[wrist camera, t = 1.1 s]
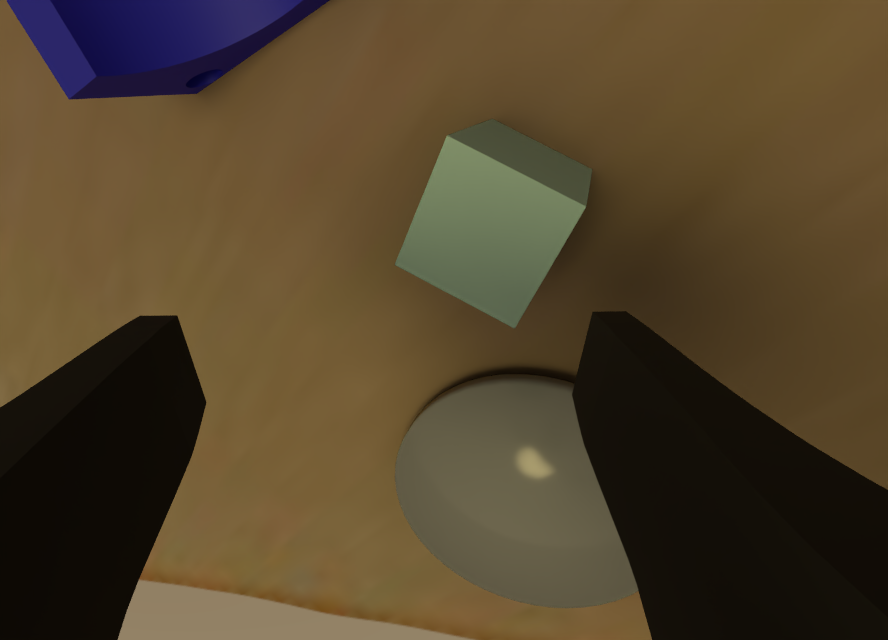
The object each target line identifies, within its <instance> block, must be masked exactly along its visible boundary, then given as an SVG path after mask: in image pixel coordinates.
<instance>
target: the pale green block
mask: <svg viewBox="0 0 888 640" xmlns="http://www.w3.org/2000/svg"><path fill="white" fill-rule="evenodd" d="M591 175H592V169H591V168H589V167H587V166H585V165H583V164H581V163H579V162H577V161H575V160H573V159H571V158H569V157H567V156H565V155H563V154H561V153H559V152H557V151H555V150H553V149H551V148H549V147H547V146H545V145H543V144H541V143H539V142H537V141H535V140H533V139H531V138H529V137H527V136H525V135H523V134H521V133H519V132H517V131H515V130H513V129H511V128H510V127H508V126H506V125H504V124H502V123H500V122H498V121H496V120H494V119H491V120H488V121H485V122H483V123H480V124H477V125H474V126H472V127H469V128H466V129H463V130H461V131H458V132H455V133H453V134H450V135H447V137H446V139H445V142H444V144H443V147H442V149H441V152H440V154H439V157H438V159H437V162H436V164H435V167H434V169H433V171H432V174H431V176H430V179H429V181H428V184H427V186H426V189H425V191H424V194H423V196H422V199H421V201H420V204H419V206H418V209H417V211H416V214H415V216H414V218H413V221H412V223H411V226H410V228H409V231H408V233H407V236H406V238H405V241H404V243H403V246H402V248H401V251H400V253H399V256H398V258H397V260H396V263H395V265H396V266H398V267H400V268H402V269H403V270H405V271H407V272H409V273H411V274H413V275H415V276H417V277H419V278H420V279H422V280H424V281H426V282H428V283H430V284H432V285H434V286H435V287H437V288H439V289H441V290H443V291H445V292H447V293H449V294H451V295H452V296H454V297H456V298H458V299H460V300H462V301H464V302H466V303H467V304H469V305H471V306H473V307H475V308H477V309H479V310H481V311H483V312H484V313H486V314H488V315H490V316H492V317H494V318H496V319H498V320H499V321H501V322H503V323H505V324H507V325H509V326H511V327H513V328H515V327H516V325H517V324H518V322H519V320H520V319H521V317H522V315H523V314H524V312H525V310H526V308H527V307H528V305H529V303H530V302H531V300H532V298H533V297H534V295H535V293H536V291H537V290H538V288H539V286H540V285H541V283H542V281H543V279H544V278H545V276H546V274H547V273H548V271H549V269H550V268H551V266H552V264H553V262H554V261H555V259H556V257H557V256H558V254H559V252H560V251H561V249H562V247H563V245H564V244H565V242H566V240H567V239H568V237H569V235H570V233H571V232H572V230H573V228H574V227H575V225H576V223H577V222H578V220H579V218H580V216H581V215H582V213H583V211H584V210H585V208H586V205H587V199H588V193H589V187H590V181H591Z"/></svg>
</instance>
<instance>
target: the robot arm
mask: <svg viewBox="0 0 888 640" xmlns="http://www.w3.org/2000/svg"><path fill="white" fill-rule="evenodd" d="M572 397H573V402H574V406H575V410H576V415H577V419H578V423H579V427H580V431H581V435H582V439H583V443H584V446H585V449H586V451H587V454H588V457H589V460H590V462H591V465H592V467H593V470H594V473H595V475H596V478H597V481H598V483H599V486H600V488H601V491H602V493H603V496H604V499H605V501H606V504H607V506H608V509H609V511H610V514H611V517H612V519H613V522H614V524H615V527H616V529H617V532H618V535H619V537H620V540H621V542H622V545H623V547H624V550H625V553H626V555H627V558H628V561H629V563H630V566H631V569H632V572H633V575H634V578H635V581H636V584H637V587H638V591H639V594H640V598H641V601H642V605H643V608H644V612H645V615H646V619H647V623H648V626H649V630H650V633H651V637H652V640H888V490H887V489H885V488H883V487H881V486H880V485H878V484H876V483H874V482H872V481H871V480H869V479H867V478H865V477H864V476H862V475H860V474H859V473H857V472H855V471H854V470H852V469H850V468H849V467H847V466H845V465H844V464H842V463H840V462H839V461H837V460H835V459H834V458H832V457H830V456H829V455H827V454H825V453H824V452H822V451H820V450H819V449H817V448H815V447H814V446H812V445H811V444H809V443H807V442H806V441H804V440H803V439H801V438H800V437H798V436H796V435H795V434H793V433H792V432H790V431H789V430H787V429H786V428H784V427H783V426H782V425H780V424H779V423H777V422H776V421H774V420H773V419H771V418H770V417H768V416H767V415H765V414H764V413H762V412H761V411H759V410H758V409H757V408H755V407H754V406H752V405H751V404H749V403H748V402H747V401H745V400H744V399H742V398H741V397H740V396H738V395H737V394H735V393H734V392H733V391H731V390H730V389H728V388H727V387H726V386H724V385H723V384H722V383H720V382H719V381H718V380H716V379H715V378H714V377H712V376H711V375H710V374H708V373H707V372H706V371H704V370H703V369H702V368H700V367H699V366H698V365H696V364H695V363H694V362H693V361H691V360H690V359H689V358H687V357H686V356H685V355H683V354H682V353H681V352H680V351H678V350H677V349H676V348H674V347H673V346H672V345H671V344H669V343H668V342H667V341H665V340H664V339H663V338H661V337H660V336H659V335H658V334H656V333H655V332H654V331H652V330H651V329H650V328H648V327H647V326H646V325H644V324H643V323H642V322H640V321H639V320H638V319H636V318H635V317H633V316H632V315H630V314H629V313H627V312H626V311H623V312H592V316H591V320H590V324H589V328H588V332H587V336H586V340H585V344H584V348H583V352H582V356H581V360H580V364H579V368H578V372H577V376H576V380H575V384H574V388H573V392H572ZM205 406H206V400H205V397H204V394H203V391H202V388H201V385H200V382H199V379H198V376H197V373H196V370H195V367H194V364H193V361H192V358H191V355H190V352H189V349H188V346H187V343H186V340H185V337H184V334H183V331H182V328H181V325H180V322H179V319H178V316H139V317H137V318H135V319H134V320H132V321H130V322H128V323H127V324H125V325H124V326H122V327H120V328H119V329H117V330H116V331H114V332H113V333H111V334H110V335H108V336H107V337H105V338H104V339H102V340H101V341H99V342H98V343H96V344H95V345H93V346H92V347H90V348H89V349H87V350H86V351H84V352H83V353H81V354H80V355H79V356H77V357H76V358H74V359H73V360H71V361H70V362H68V363H67V364H65V365H64V366H62V367H61V368H59V369H58V370H56V371H55V372H53V373H52V374H50V375H49V376H47V377H46V378H45V379H43V380H42V381H40V382H39V383H37V384H36V385H34V386H33V387H31V388H30V389H28V390H27V391H25V392H24V393H22V394H21V395H19V396H18V397H16V398H15V399H13V400H12V401H10V402H8V403H7V404H5V405H4V406H2V407H0V640H117V639H118V636H119V633H120V630H121V627H122V623H123V621H124V617H125V614H126V611H127V609H128V606H129V603H130V601H131V598H132V595H133V593H134V590H135V588H136V585H137V582H138V580H139V578H140V575H141V573H142V571H143V568H144V566H145V564H146V562H147V559H148V557H149V555H150V552H151V550H152V548H153V545H154V543H155V541H156V538H157V536H158V534H159V531H160V529H161V527H162V525H163V522H164V520H165V518H166V515H167V513H168V511H169V508H170V506H171V504H172V502H173V499H174V497H175V495H176V492H177V490H178V487H179V485H180V483H181V480H182V478H183V476H184V473H185V471H186V468H187V466H188V464H189V461H190V459H191V456H192V453H193V450H194V447H195V443H196V440H197V436H198V433H199V429H200V425H201V421H202V417H203V413H204V409H205Z"/></svg>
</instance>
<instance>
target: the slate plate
mask: <svg viewBox="0 0 888 640" xmlns="http://www.w3.org/2000/svg"><path fill="white" fill-rule="evenodd" d="M573 388H574V383H571V382H568V381H565V380H560V379H556V378H551V377H546V376H539V375H529V374H502V375H494V376H486V377H482V378H478V379H474V380H470V381H467V382H465V383H462V384H460V385H457V386H455V387H452V388H451V389H449V390H447V391H446V392H444V393H442V394H440V395H439V396H437V397H436V398H435V399H434V400H432V401H431V402H430V403H429V404H428V405H426V407H425V408H424V409H423V410H422V411H421V412H420V413H419V414H418V416H417V417H416V419H415V420H414V422H413V423H412V425H411V427H410V428H409V430H408V432H407V434H406V435H405V437H404V439H403V441H402V444H401V446H400V449H399V451H398V456H397V460H396V467H395V482H396V491H397V495H398V499H399V502H400V505H401V508H402V510H403V513H404V515H405V517H406V519H407V521H408V523H409V524H410V526H411V528H412V530H413V531H414V532H415V534H416V535H417V537H418V538H419V539H420V541H421V542H422V543H423V544H424V545H425V546H426V548H427V549H428V550H429V551H430V552H431V553H432V554H433V555H434V556H435V557H436V558H437V559H439V560H440V561H441V562H442V563H443V564H444V565H446V566H447V567H448V568H450V569H451V570H452V571H454V572H455V573H456V574H458V575H459V576H461V577H463V578H464V579H466V580H467V581H469V582H471V583H473V584H475V585H477V586H479V587H481V588H483V589H484V590H487V591H489V592H492V593H494V594H497V595H499V596H502V597H505V598H508V599H511V600H514V601H518V602H522V603H527V604H531V605H537V606H544V607H554V608H581V607H590V606H596V605H602V604H606V603H610V602H613V601H617V600H619V599H622V598H624V597H627V596H630V595H632V594H634V593H635V592H637V591H638V587H637V584H636V581H635V578H634V575H633V572H632V569H631V566H630V563H629V561H628V558H627V555H626V553H625V550H624V547H623V545H622V542H621V540H620V537H619V535H618V532H617V529H616V527H615V524H614V522H613V519H612V517H611V514H610V511H609V509H608V506H607V504H606V501H605V499H604V496H603V493H602V491H601V488H600V486H599V483H598V481H597V478H596V475H595V473H594V470H593V467H592V465H591V462H590V460H589V457H588V454H587V451H586V449H585V446H584V443H583V439H582V435H581V431H580V427H579V423H578V419H577V415H576V410H575V406H574V402H573V397H572V392H573Z"/></svg>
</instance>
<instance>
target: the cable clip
mask: <svg viewBox="0 0 888 640" xmlns="http://www.w3.org/2000/svg"><path fill="white" fill-rule="evenodd" d="M328 1H329V0H7V2H8V4H9V5H10V7H11V9H12V10H13V12H14V13H15V15H16V16H17V18H18V20H19V21H20V23H21V24H22V26H23V28H24V29H25V31H26V32H27V34H28V35H29V37H30V39H31V40H32V42H33V43H34V45H35V46H36V48H37V50H38V51H39V53H40V54H41V56H42V58H43V59H44V61H45V62H46V64H47V65H48V67H49V69H50V70H51V72H52V73H53V75H54V76H55V78H56V80H57V81H58V83H59V84H60V86H61V88H62V89H63V91H64V92H65V94H66V95H67V97H68V99H87V98H109V97H132V96H154V95H176V94H197V93H198V92H200V91H201V90H203V89H204V88H206V87H207V86H208V85H210V84H211V83H213V82H214V81H215V80H217V79H218V78H220V77H221V76H223V75H224V74H225V73H227V72H228V71H230V70H231V69H233V68H234V67H235V66H237V65H238V64H240V63H241V62H243V61H244V60H245V59H247V58H248V57H250V56H251V55H252V54H254V53H255V52H257V51H258V50H260V49H261V48H262V47H264V46H265V45H267V44H268V43H270V42H271V41H272V40H274V39H275V38H277V37H278V36H280V35H281V34H282V33H284V32H285V31H287V30H288V29H289V28H291V27H292V26H294V25H295V24H297V23H298V22H299V21H301V20H302V19H304V18H305V17H307V16H308V15H309V14H311V13H312V12H314V11H315V10H317V9H318V8H319V7H321V6H322V5H324V4H325V3H326V2H328Z"/></svg>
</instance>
